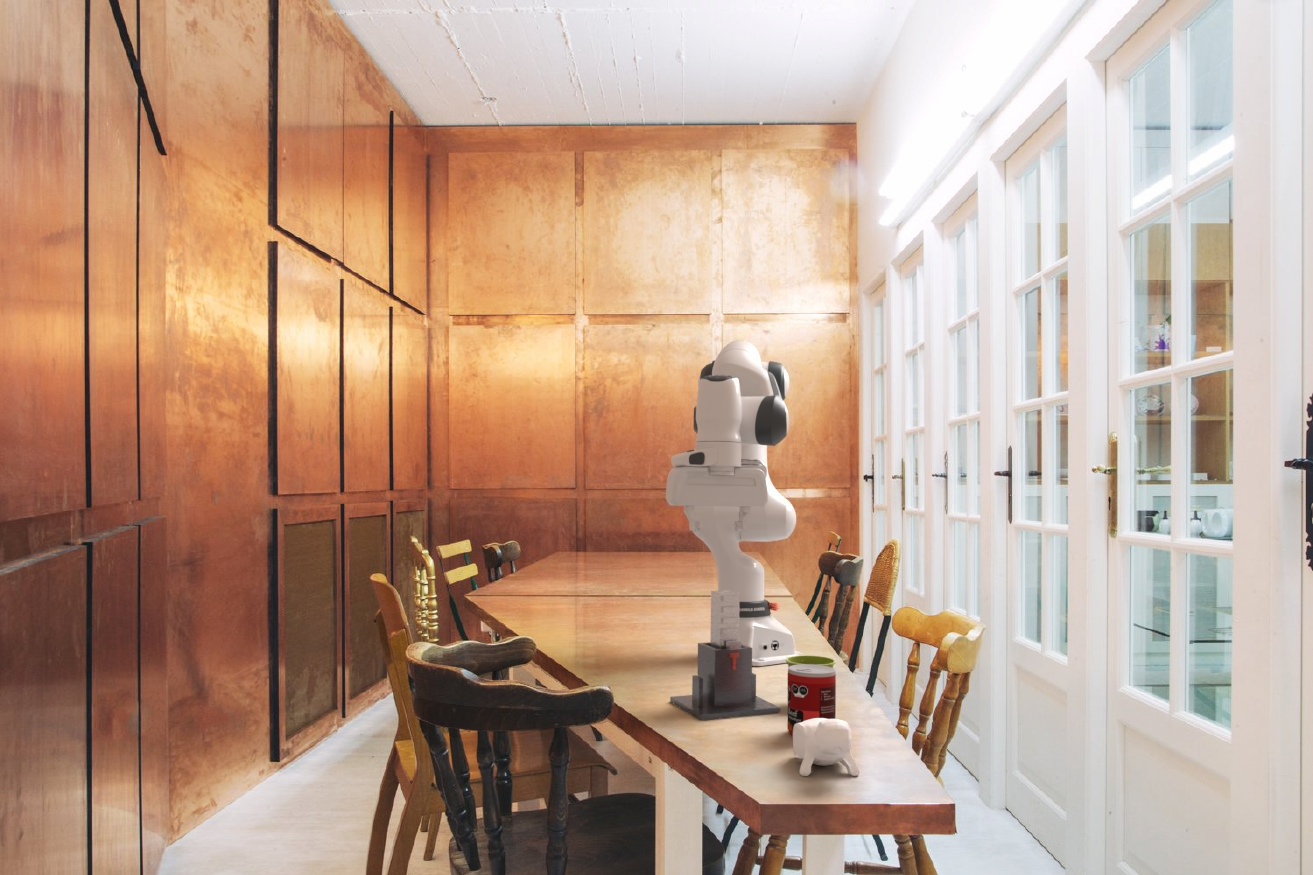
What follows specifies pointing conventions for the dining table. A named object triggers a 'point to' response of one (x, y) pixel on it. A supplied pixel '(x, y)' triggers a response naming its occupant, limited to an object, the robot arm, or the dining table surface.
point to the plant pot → (810, 660)
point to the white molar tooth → (823, 744)
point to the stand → (724, 685)
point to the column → (724, 618)
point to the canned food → (810, 693)
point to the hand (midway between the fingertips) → (717, 530)
